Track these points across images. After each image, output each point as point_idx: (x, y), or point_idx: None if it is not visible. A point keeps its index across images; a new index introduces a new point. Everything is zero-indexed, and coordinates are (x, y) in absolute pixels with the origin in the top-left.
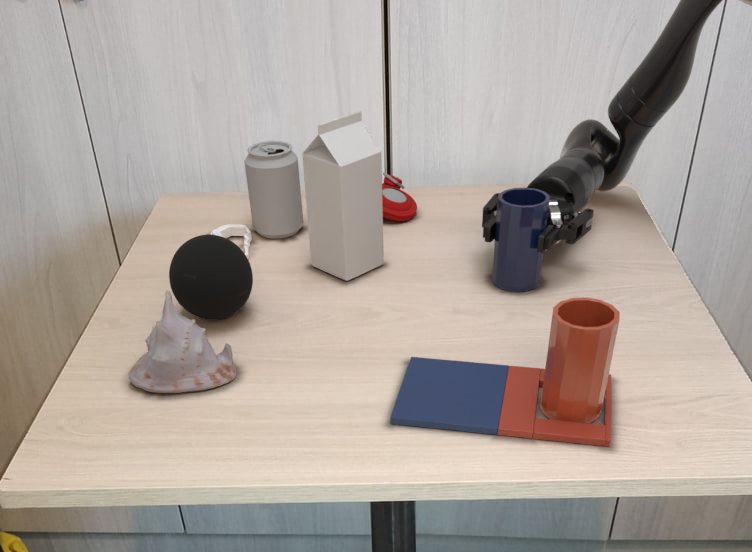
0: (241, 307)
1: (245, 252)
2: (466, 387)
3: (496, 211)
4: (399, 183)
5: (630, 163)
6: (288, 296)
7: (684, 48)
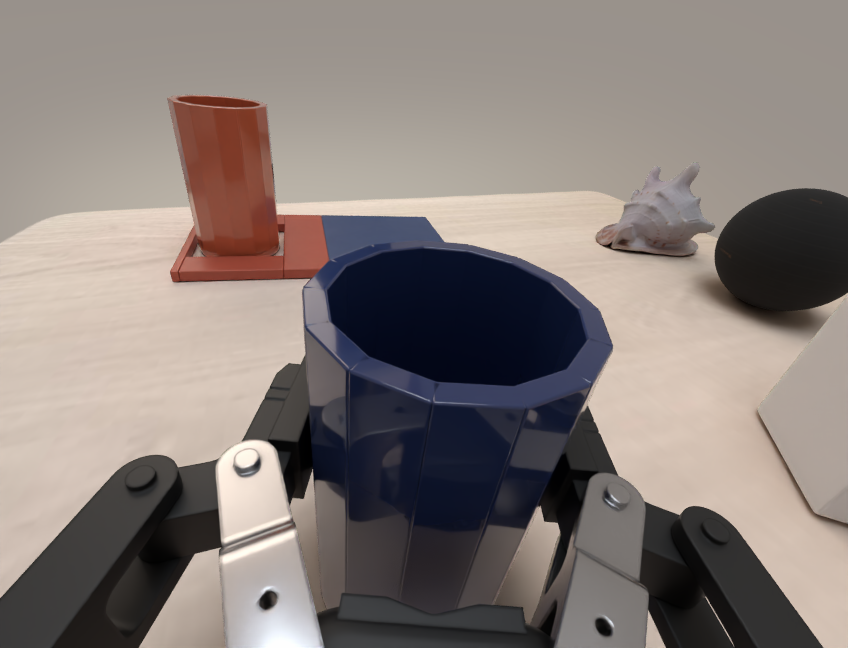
0: (725, 280)
1: None
2: (372, 242)
3: (634, 503)
4: None
5: None
6: (758, 351)
7: None
